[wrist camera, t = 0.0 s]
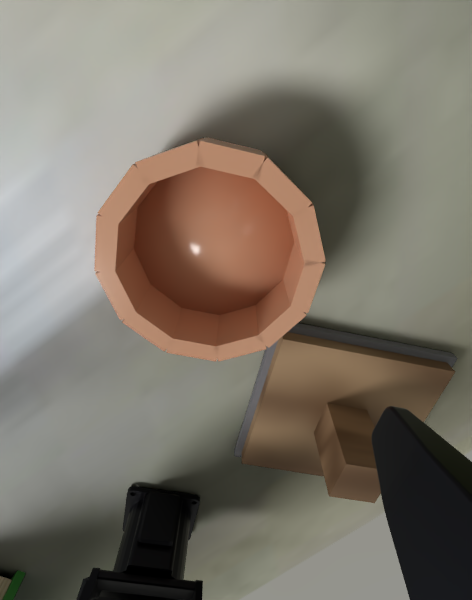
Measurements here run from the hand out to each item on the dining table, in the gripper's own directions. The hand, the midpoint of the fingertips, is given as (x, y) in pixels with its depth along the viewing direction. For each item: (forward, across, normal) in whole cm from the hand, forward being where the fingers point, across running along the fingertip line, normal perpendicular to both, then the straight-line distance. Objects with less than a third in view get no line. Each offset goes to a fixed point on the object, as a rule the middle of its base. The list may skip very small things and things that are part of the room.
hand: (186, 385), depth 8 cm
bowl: (+15, 0, +1) cm, 15 cm away
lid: (+14, -12, +12) cm, 22 cm away
